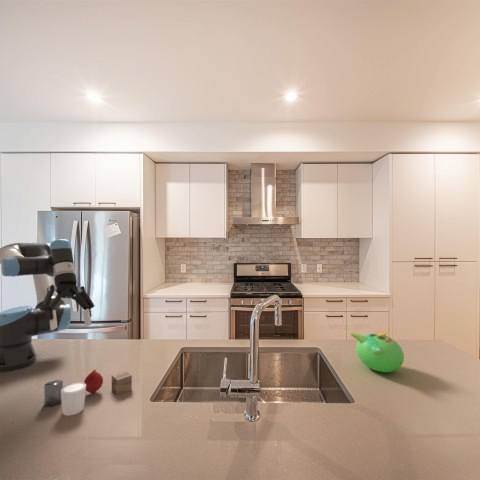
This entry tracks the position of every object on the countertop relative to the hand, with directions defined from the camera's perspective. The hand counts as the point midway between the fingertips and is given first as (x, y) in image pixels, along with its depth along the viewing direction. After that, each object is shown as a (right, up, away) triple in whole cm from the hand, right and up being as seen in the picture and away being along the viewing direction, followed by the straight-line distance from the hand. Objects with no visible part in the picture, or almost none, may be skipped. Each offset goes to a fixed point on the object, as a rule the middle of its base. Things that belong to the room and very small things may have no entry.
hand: (72, 327), depth 108 cm
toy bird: (+119, -20, +8) cm, 121 cm away
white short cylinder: (+12, -20, -20) cm, 31 cm away
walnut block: (+22, -20, -8) cm, 30 cm away
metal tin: (+3, -19, -16) cm, 25 cm away
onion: (+13, -20, -10) cm, 26 cm away
